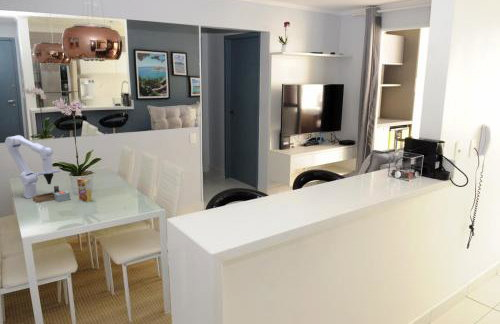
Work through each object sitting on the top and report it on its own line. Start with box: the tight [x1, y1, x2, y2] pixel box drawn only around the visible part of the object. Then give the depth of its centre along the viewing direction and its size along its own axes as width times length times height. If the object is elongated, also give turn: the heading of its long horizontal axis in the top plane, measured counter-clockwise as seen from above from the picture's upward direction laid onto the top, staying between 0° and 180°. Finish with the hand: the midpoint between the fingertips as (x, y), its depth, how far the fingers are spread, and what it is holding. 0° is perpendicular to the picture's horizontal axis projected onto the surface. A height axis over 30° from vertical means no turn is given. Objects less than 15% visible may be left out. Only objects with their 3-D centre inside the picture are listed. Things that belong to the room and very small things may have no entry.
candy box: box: [76, 177, 93, 203], centre depth 269 cm, size 9×4×15 cm, turn 61°
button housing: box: [54, 190, 71, 203], centre depth 270 cm, size 6×8×5 cm
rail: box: [32, 192, 55, 204], centre depth 273 cm, size 8×19×3 cm, turn 135°
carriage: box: [50, 185, 61, 195], centre depth 275 cm, size 5×6×6 cm
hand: (49, 184), depth 272 cm, fingers closed
